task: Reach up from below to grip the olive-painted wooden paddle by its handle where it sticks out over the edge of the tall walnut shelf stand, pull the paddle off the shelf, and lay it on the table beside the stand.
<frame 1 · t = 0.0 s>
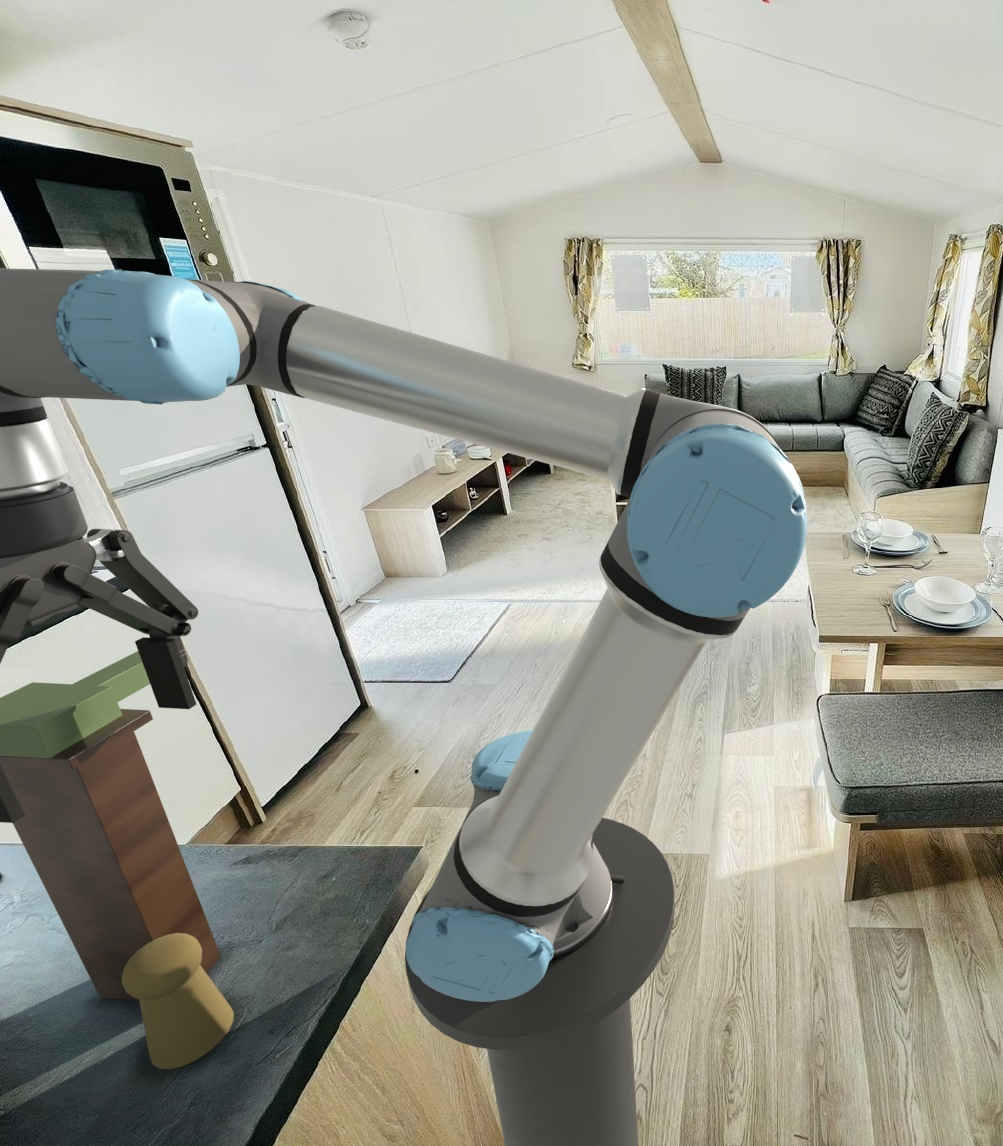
hand: (100, 755, 50), 31 cm above the counter, tool pointing down, fingers open, 13 cm apart
shelf stand: (162, 976, 65), on the counter
cork: (193, 1035, 60), on the counter
paddle: (47, 733, 54), point 30 cm above the counter, touching shelf stand
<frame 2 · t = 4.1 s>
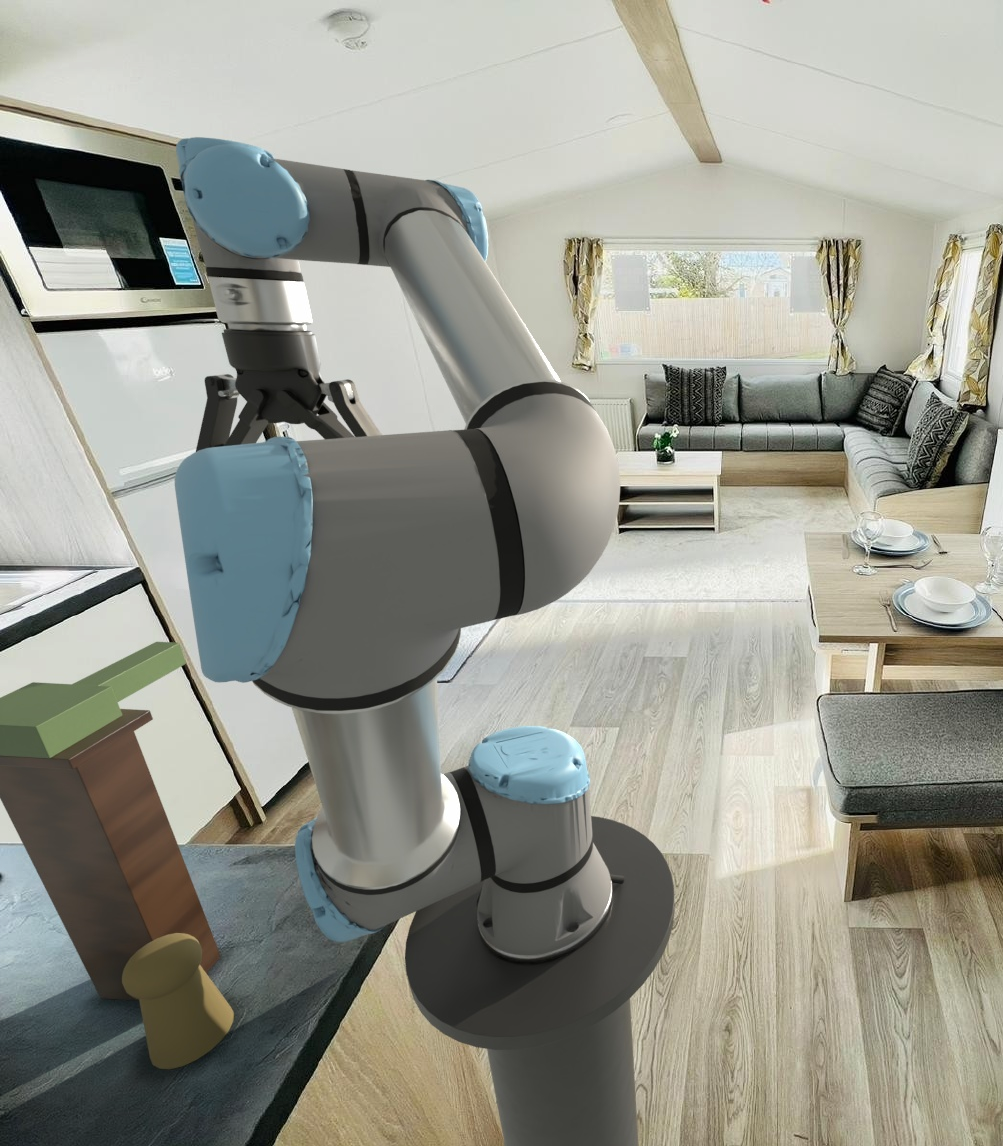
hand: (315, 531, 71), 41 cm above the counter, tool pointing down, fingers open, 13 cm apart
nothing on the counter moved.
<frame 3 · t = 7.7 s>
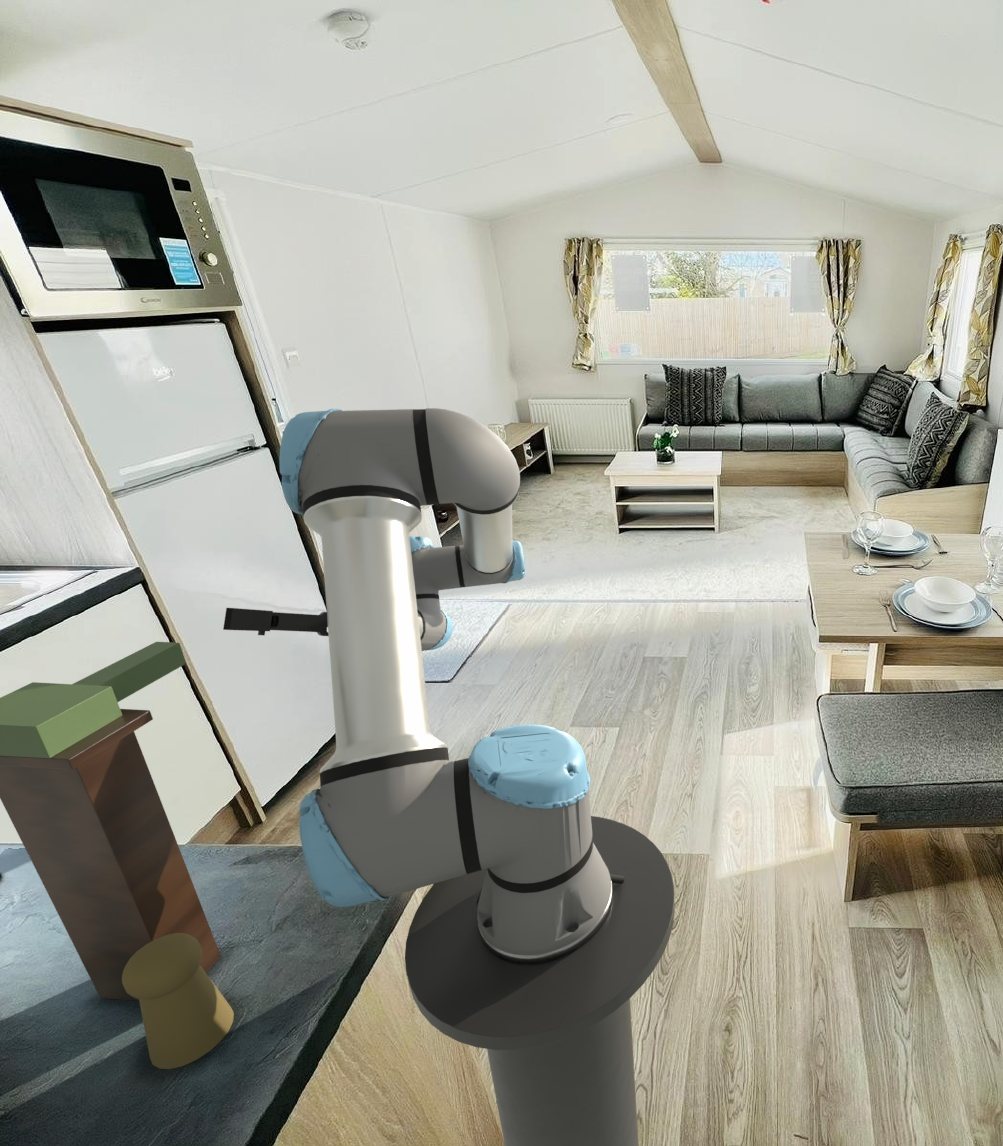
hand: (282, 621, 78), 28 cm above the counter, tool pointing upward, fingers open, 13 cm apart
nothing on the counter moved.
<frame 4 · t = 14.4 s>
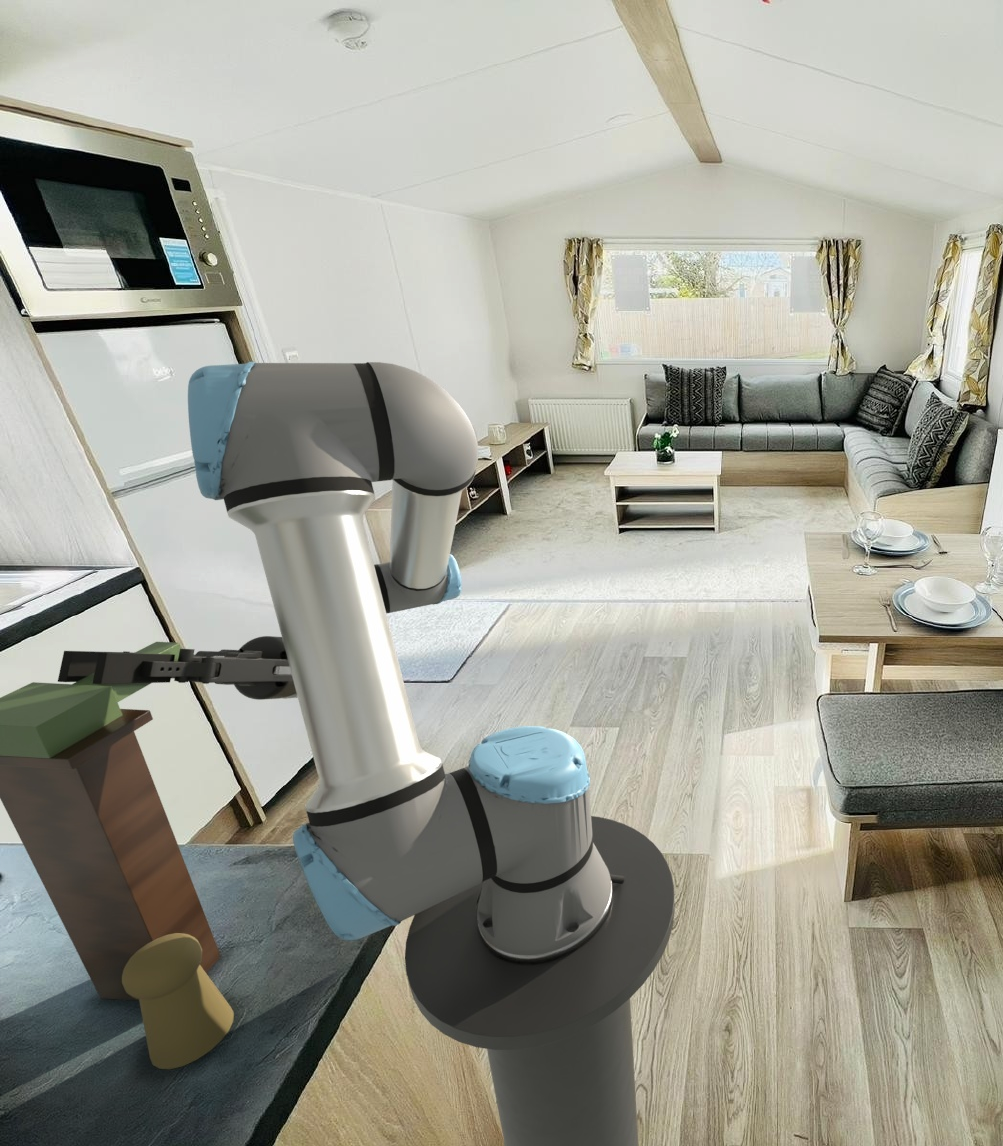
hand: (82, 667, 56), 34 cm above the counter, tool pointing upward, fingers closed on paddle, 2 cm apart
paddle: (47, 733, 54), point 30 cm above the counter, touching gripper, shelf stand
everything else where it was.
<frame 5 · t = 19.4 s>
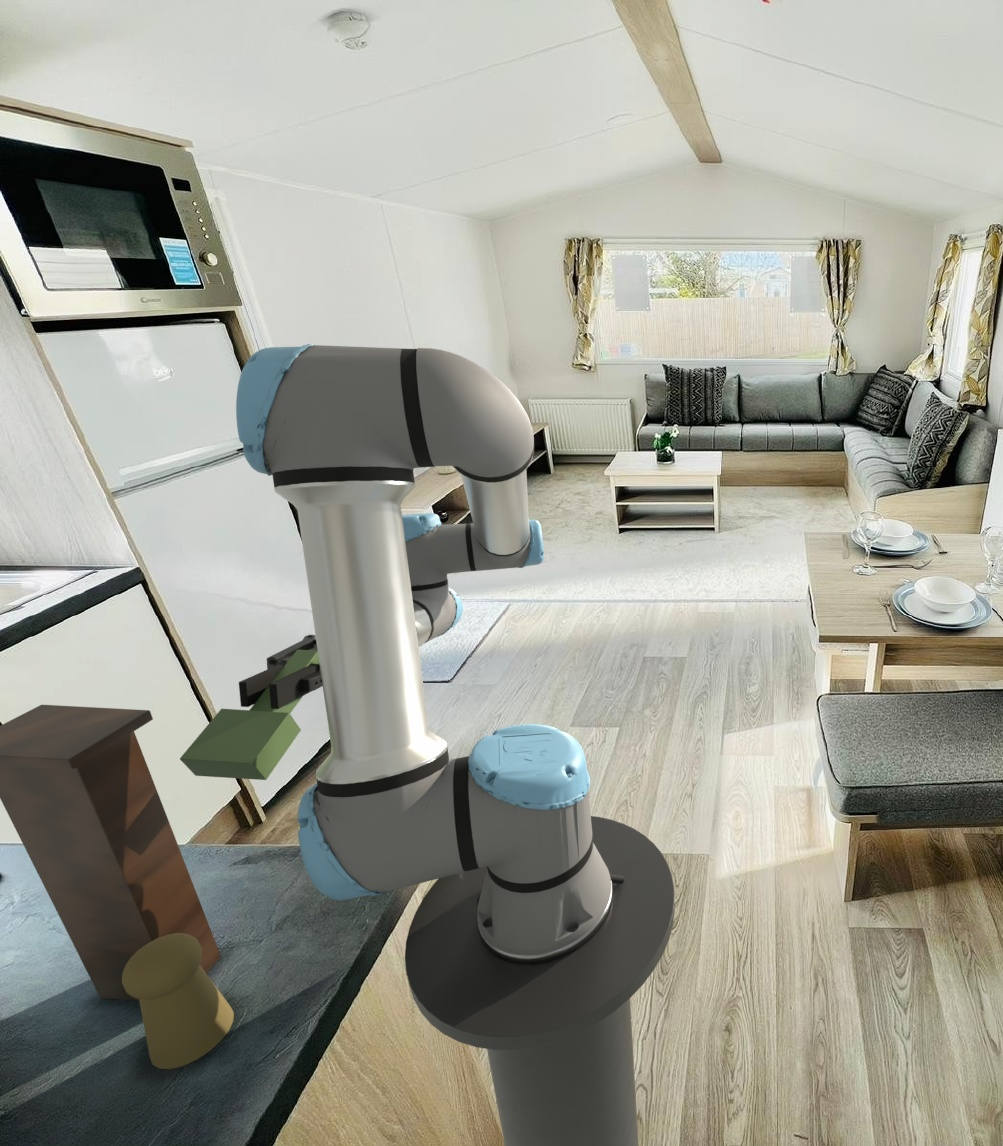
hand: (258, 695, 66), 26 cm above the counter, tool horizontal, fingers closed on paddle, 2 cm apart
paddle: (250, 752, 66), point 21 cm above the counter, tilted 19°, touching gripper
everything else where it was.
when the fingers open (7 cm above the counter, at t = 24.5 s): paddle drops 1 cm, on the counter.
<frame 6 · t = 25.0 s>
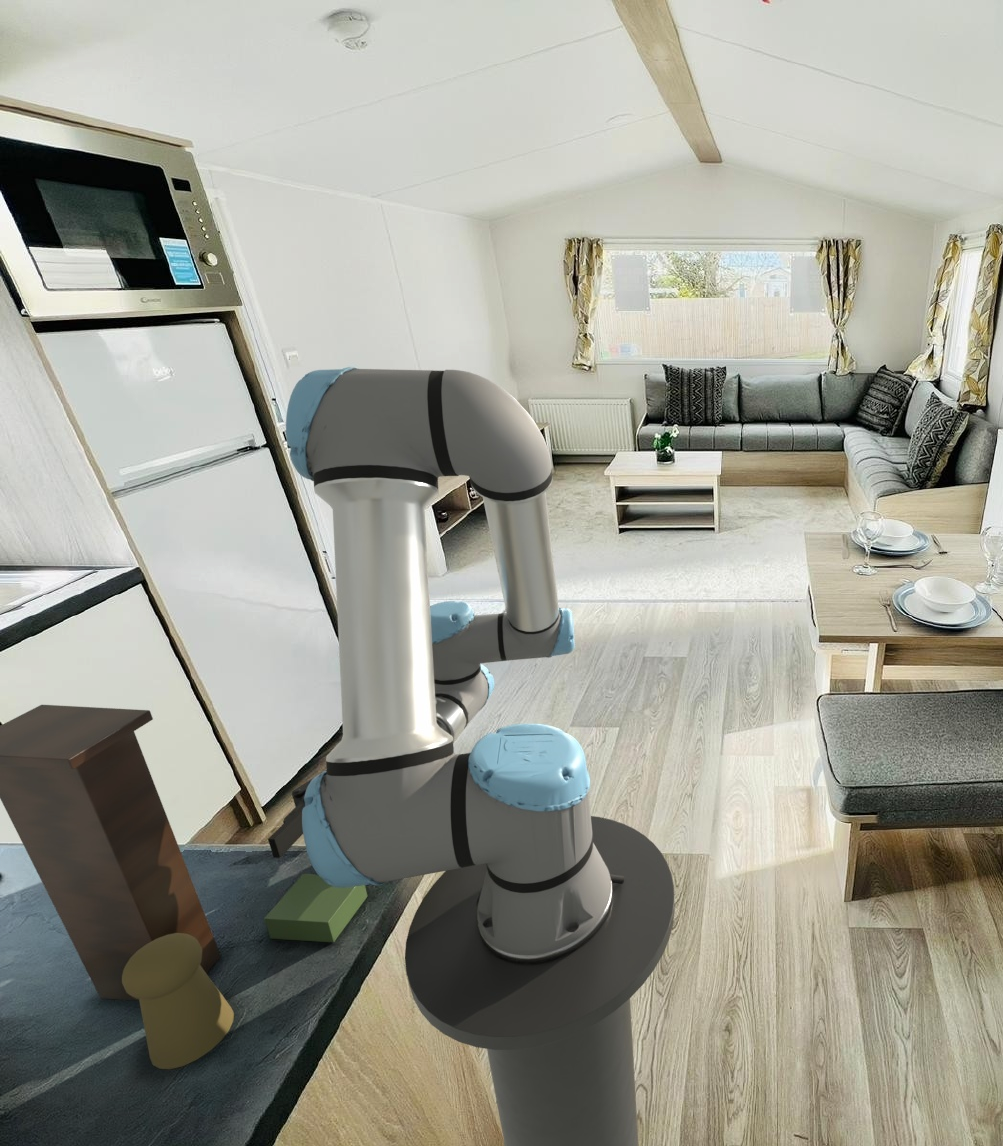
hand: (323, 851, 72), 7 cm above the counter, tool horizontal, fingers open, 11 cm apart
paddle: (320, 916, 72), on the counter
everything else where it was.
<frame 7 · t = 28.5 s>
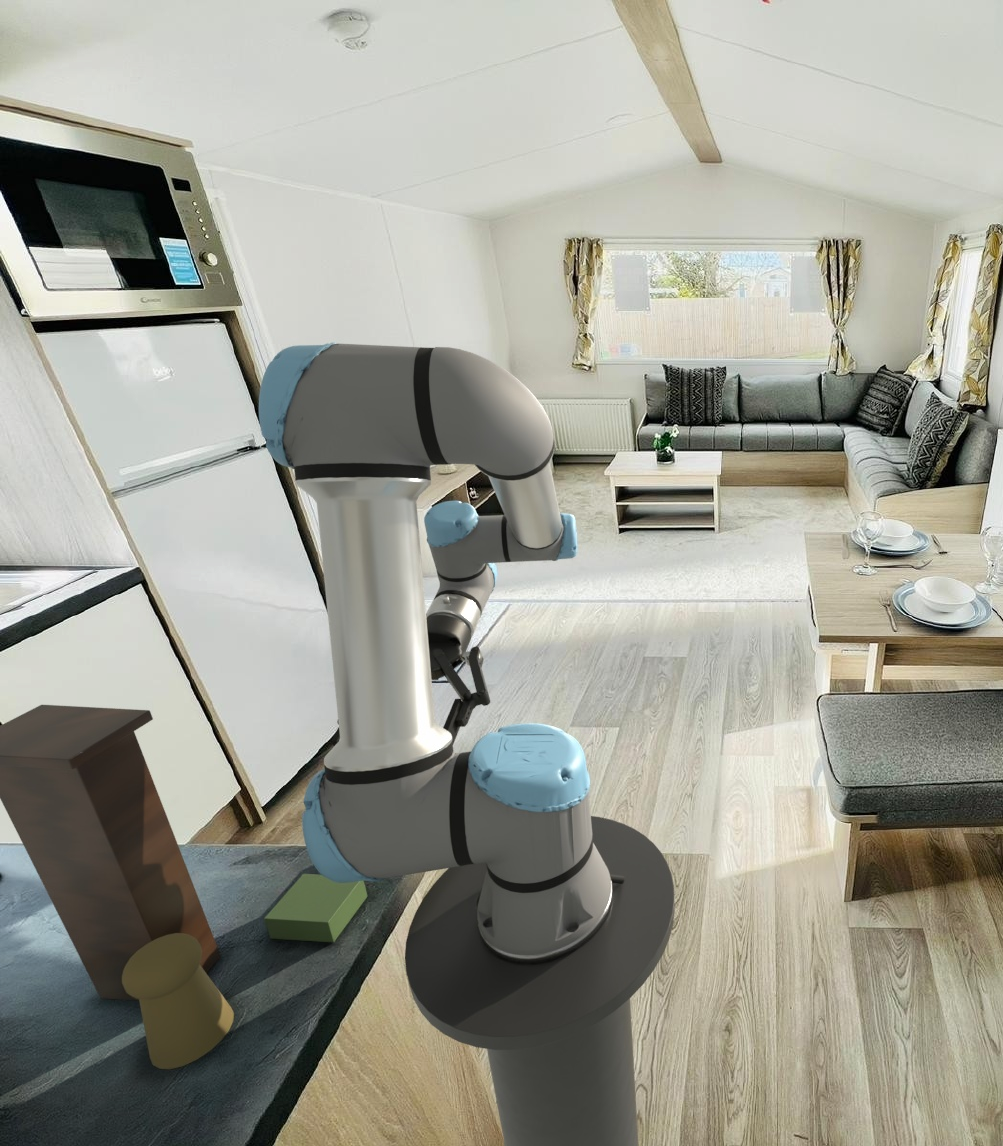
hand: (391, 746, 83), 11 cm above the counter, tool tilted 70°, fingers open, 13 cm apart
nothing on the counter moved.
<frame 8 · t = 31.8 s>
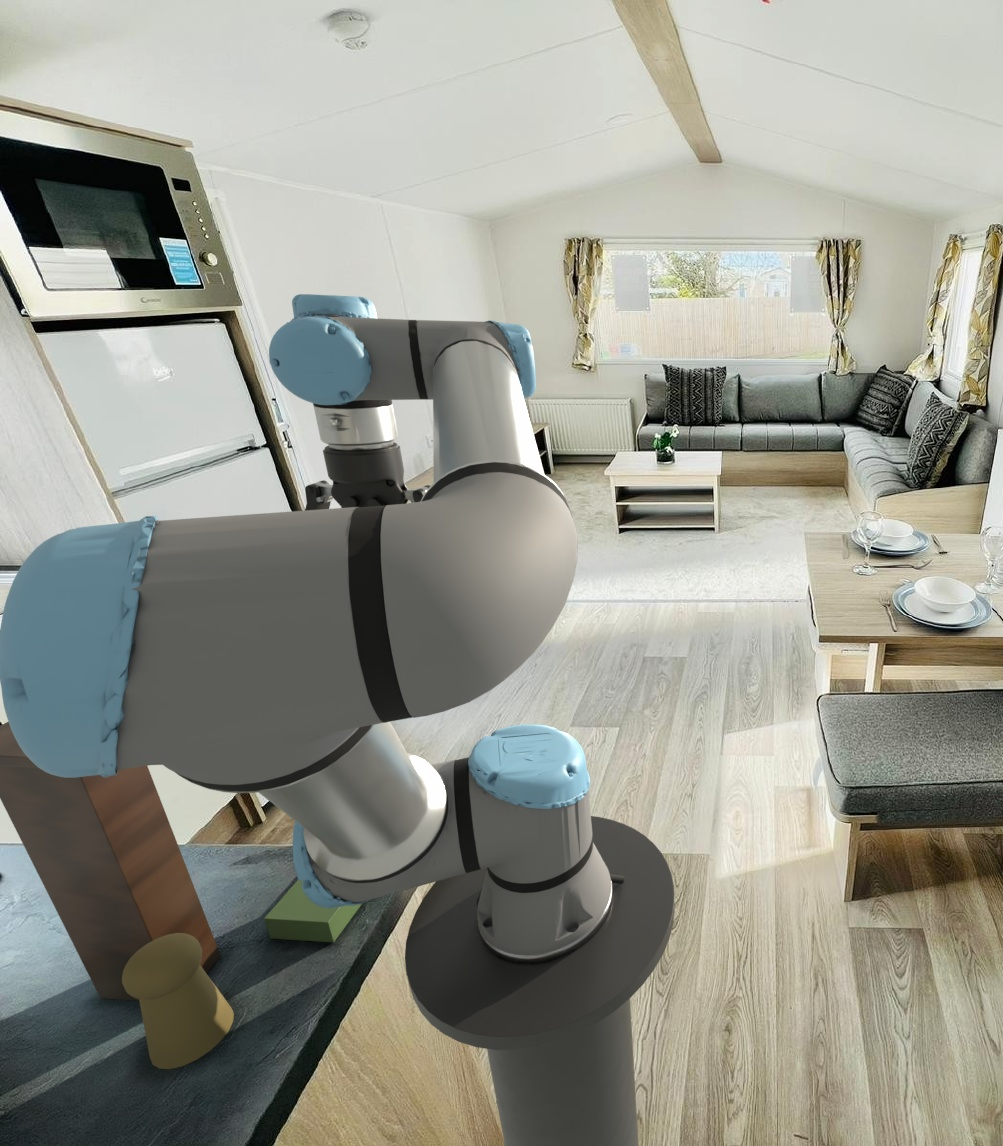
hand: (394, 613, 80), 29 cm above the counter, tool pointing down, fingers open, 13 cm apart
nothing on the counter moved.
at the end: paddle on the counter; paddle inside the target area (3.8 cm from its centre), on the counter; the gripper is holding nothing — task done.
